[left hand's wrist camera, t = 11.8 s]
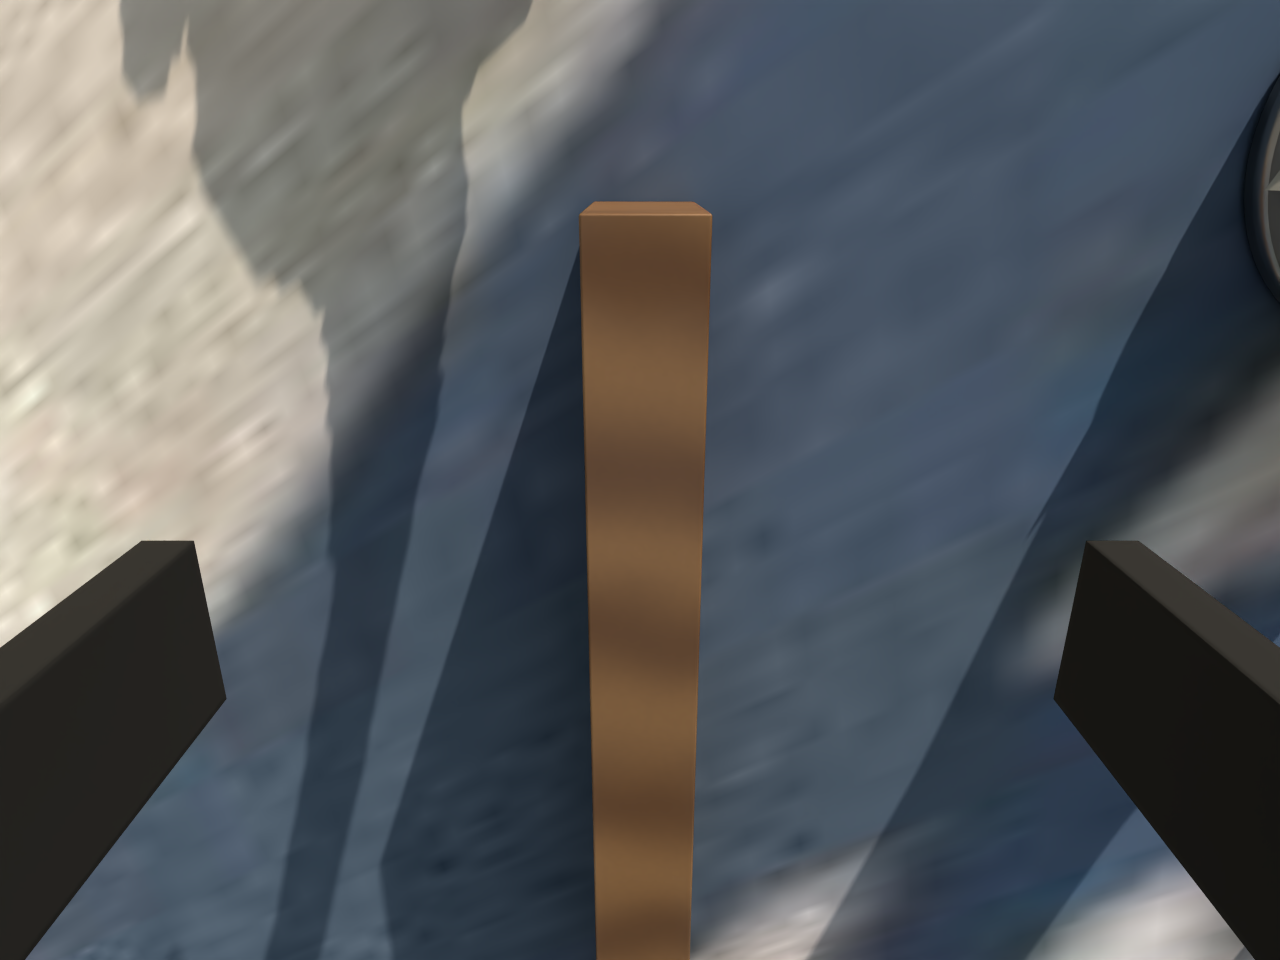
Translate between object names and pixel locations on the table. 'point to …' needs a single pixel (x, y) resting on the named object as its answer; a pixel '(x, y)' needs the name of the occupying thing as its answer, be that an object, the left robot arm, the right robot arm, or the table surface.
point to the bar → (644, 559)
